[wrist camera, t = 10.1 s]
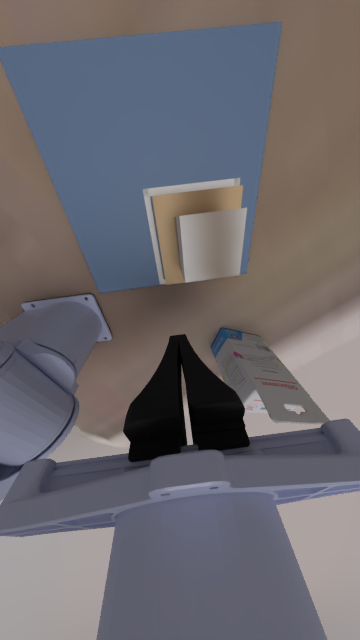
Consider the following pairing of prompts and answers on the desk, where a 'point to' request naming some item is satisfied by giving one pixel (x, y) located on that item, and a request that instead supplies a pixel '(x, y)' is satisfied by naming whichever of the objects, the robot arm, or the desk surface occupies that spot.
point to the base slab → (187, 205)
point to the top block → (210, 244)
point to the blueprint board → (145, 131)
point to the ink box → (262, 379)
